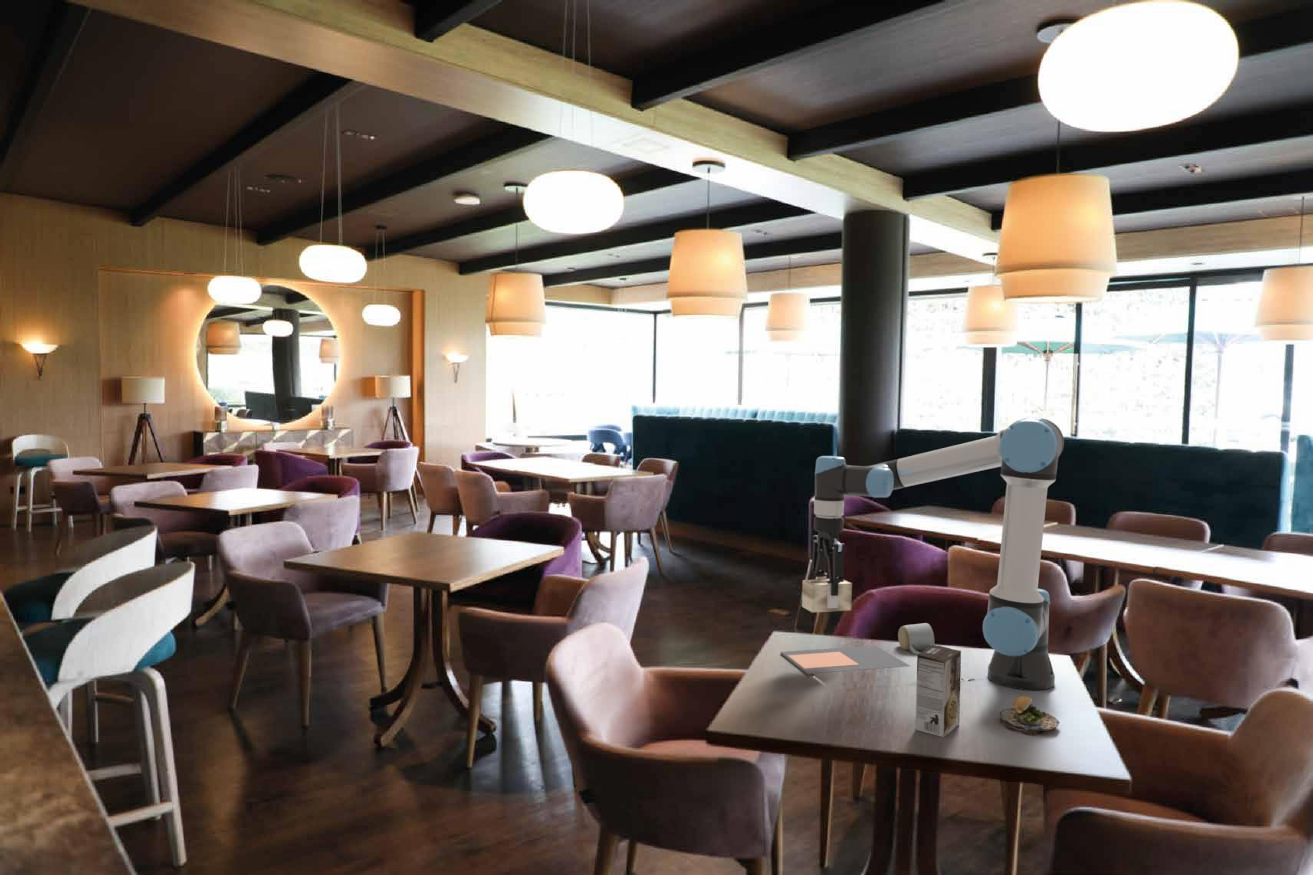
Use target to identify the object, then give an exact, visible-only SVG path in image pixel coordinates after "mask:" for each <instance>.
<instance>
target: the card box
mask: <svg viewBox="0 0 1313 875" xmlns="http://www.w3.org/2000/svg"><path fill="white" fill-rule="evenodd" d="M827 581H829V578H826V579H817V580H816V579H803V580H802V593H801V594H802V595H801V607H802V608H804V609H805V610H807V611H809V612H810V613H827V612H843V611H845V612H846V611H852V596H853V595H852V591H853V583H852V582H849V581H848V580H845V579H844V581H843V582H840V583H839V584H838V608H827V586H828V583H827Z"/></svg>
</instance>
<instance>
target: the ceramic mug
mask: <svg viewBox="0 0 1313 875" xmlns="http://www.w3.org/2000/svg"><path fill="white" fill-rule="evenodd" d="M897 638H898V640H897V641H898V642H899V646H900V648H901V649H902V650H904V651H909V652H910V651H911V653H913V654H914V655H916V656H917V655H918V654H919V653H921V652H922V651H924V650H926V649H927V648H929V647H930V646H932V645H935V634H934V631H933V628H932V626H931V625H930V624H929V623H927V622H924V623H923V622H922V623H915V624H906V625H902V626H900V628H899V629H898V633H897Z"/></svg>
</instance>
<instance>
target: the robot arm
mask: <svg viewBox="0 0 1313 875" xmlns="http://www.w3.org/2000/svg"><path fill="white" fill-rule="evenodd" d="M1064 444H1065V438H1064V435H1063V432H1062V431H1061V429H1060V428H1059V426H1058V425H1057V424H1055V423H1054V422H1052V421H1051V420H1049V419H1047V418H1042V417H1032V418H1030V417H1029V418H1027V417H1026V418H1021V419H1018V420H1016V421H1015V422H1014V421H1013V423H1012V424H1010V425H1009V426H1008V427H1006V428H1005V429H1002V430H1001V429H1000V430H999V431H998V432H997V434H996V435H992V436H989V437H986V438H981V439H976V440H972V441H968V442H964V443H961V444H956V445H951V446H947V447H944V448H939V449H934V450H931V451H927V452H921V453H918V454H914V455H911V456H906V457H902V458H898V459H893V460H889V461H884V462H880V463H876V464H873V465H868V466H867V465H865V466H864V465H863V466H862V465H850V464H847V462H846V459H845V457H843V456H839V455H838V456H837V455H836V456H835V455H821V456H819V457H817V458H816V460H815V472H814V498H813V514H814V517H813V530H814V531H815V532H818V533H817V535H816V534H815V535H812V536H811V540H812V551H811V552H812V553H811V554H812V555H811V572H812V573H814V577H815V580H817V579H827V576H828V579H829V581H827V583H828V586H827V608H838V584H839V583H840V582H843V581H844V580H845V572H844V571H845V570H844V569H845V566H844V565H845V564H844V560H845V559H844V557H845V556H844V554H845V549H846V547H845V546H846V545H845V543H843V542H842V543H841V542H840V539H839V534H840V533H842V532H844V523H845V522H844V521H845V518H843V517H842V516H844V514H845V513H844V512H845V511H844V510H845V509H844V508H845V505H846V504H845V495H846V496H847V495H848V496H849V495H851V496H852V495H853V496H858V497H859V496H860V497H861V496H862V497H868V498H869V497H872V498H876V499H877V498H889V497H890V496H891V495H892V492H893V490H894V491H895V490H899V489H903V488H907V487H911V486H916V485H917V486H918V485H920V484H925V483H930V482H935V481H940V480H944V479H949V478H954V477H958V476H963V475H968V474H971V473H975V472H980V471H985V470H990V469H996V468H1000V476H1001V478H1002V479H1003V481H1005V482H1006V488H1005V501H1004V508H1003V509H1004V510H1003V521H1002V531H1001V532H1002V533H1001V541H1000V553H999V562H998V563H999V564H998V572H997V584H996V585H995V586H993V587H992V588H991V589H990V590H989V593H988V594H989V595H988V603H987V604H988V606H987V613H986V615H985V617H984V619H983V621H982V632H983V633H982V634H983V637H984V639H985V641H986V643H987V644H988V645H989V646H990V647H991V648H992V650H994V651H993V654H992V655H991V656H992V657H991V659H990V662H989V664H988V665H987V677H988V679H989V680H991V681H992V682H994V683H996V684H998V685H1001V686H1005V687H1009V688H1014V689H1017V690H1018V689H1021V690H1028V691H1041V690H1047V689H1052V688H1053V687H1054V686H1055V684H1056V683H1055V681H1056V680H1055V679H1056V676H1055V673H1054V669H1053V666H1052V661H1051V659H1050V655H1049V650H1048V648H1049V625H1050V624H1049V618H1050V605H1051V601H1050V594H1049V592H1048V591H1047V590H1045V589H1041V588H1038V587H1039V578H1040V569H1041V556H1042V547H1043V537H1044V528H1045V527H1044V526H1045V517H1046V509H1047V508H1046V507H1047V496H1048V488H1049V487H1050V486H1051V485H1052V484H1054V483H1055V482H1056V480H1057V470H1058V462H1059V457H1060V456H1061V454H1062V452H1063V450H1064V447H1065V446H1064ZM826 569H827V570H826ZM826 571H828V573H827V572H826Z"/></svg>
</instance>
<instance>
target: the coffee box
mask: <svg viewBox="0 0 1313 875" xmlns="http://www.w3.org/2000/svg"><path fill="white" fill-rule="evenodd" d="M920 652H921V653H919V654H918V655H916V656H917V658H916V660H917V661H916V662H917V663H916V689H915V690H916V693H915V694H916V696H915V697H916V699H915V730H916V731H919V732H923V733H927V734H930V735H934V736H938V737H940V738H941V737H942V738H945V737H946V736H947V735H949V734H950V733H951V732H952V731H953V730H955V728H956V727H958V726H959V725H960V724H961V723H960V720H961V719H960V716H961V715H960V714H961V710H960V709H961V675H962V674H961V671H962V670H961V667H962V666H961V664H962V661H961V660H962V650H958V649H953V648H950V647H946V646H941V645H936V644H934V645H932V646H930V647H929V648H927V649H926V650H924V651H920Z"/></svg>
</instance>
